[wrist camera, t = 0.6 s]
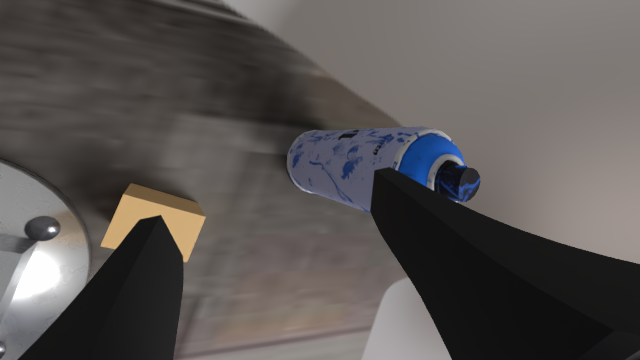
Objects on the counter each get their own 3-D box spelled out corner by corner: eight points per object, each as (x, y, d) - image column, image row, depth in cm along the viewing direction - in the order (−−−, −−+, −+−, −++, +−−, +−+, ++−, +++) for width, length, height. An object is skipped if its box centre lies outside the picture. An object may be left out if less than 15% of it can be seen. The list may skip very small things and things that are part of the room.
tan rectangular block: (182, 239, 28) (186, 262, 23) (113, 224, 25) (100, 246, 20) (197, 202, 28) (205, 216, 23) (131, 182, 25) (123, 194, 20)
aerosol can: (340, 128, 36) (508, 118, 18) (343, 187, 37) (501, 230, 20) (283, 131, 32) (427, 123, 15) (289, 197, 33) (425, 261, 16)
